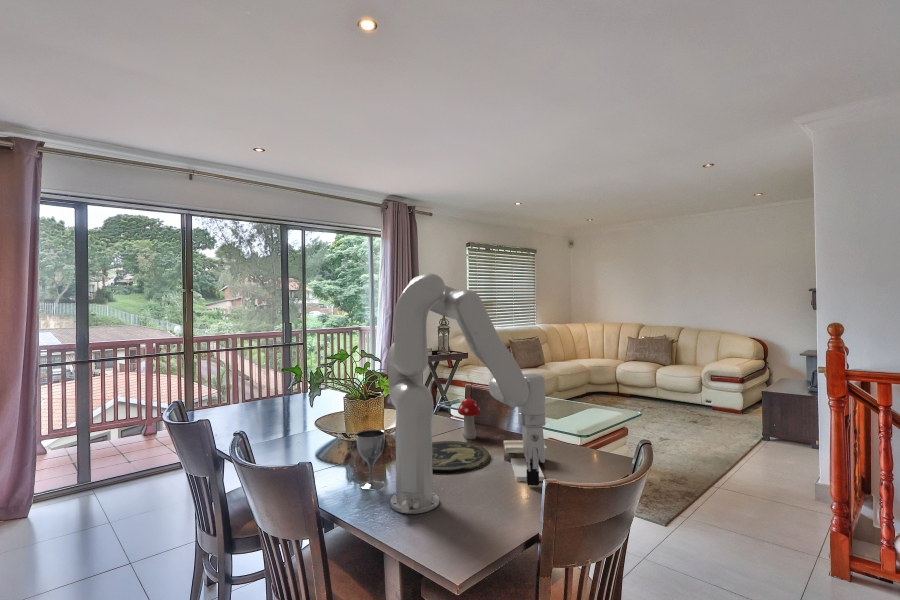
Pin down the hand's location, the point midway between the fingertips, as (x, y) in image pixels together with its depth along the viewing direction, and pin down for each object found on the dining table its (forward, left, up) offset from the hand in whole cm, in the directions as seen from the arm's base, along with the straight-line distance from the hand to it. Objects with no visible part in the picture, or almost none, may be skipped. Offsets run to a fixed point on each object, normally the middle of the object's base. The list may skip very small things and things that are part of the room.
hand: (532, 484), depth 130 cm
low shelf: (+20, 0, -1) cm, 20 cm away
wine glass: (+1, +46, -1) cm, 46 cm away
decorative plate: (+25, +26, -1) cm, 36 cm away
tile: (+12, 0, -1) cm, 12 cm away
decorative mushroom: (+49, +18, -1) cm, 52 cm away
